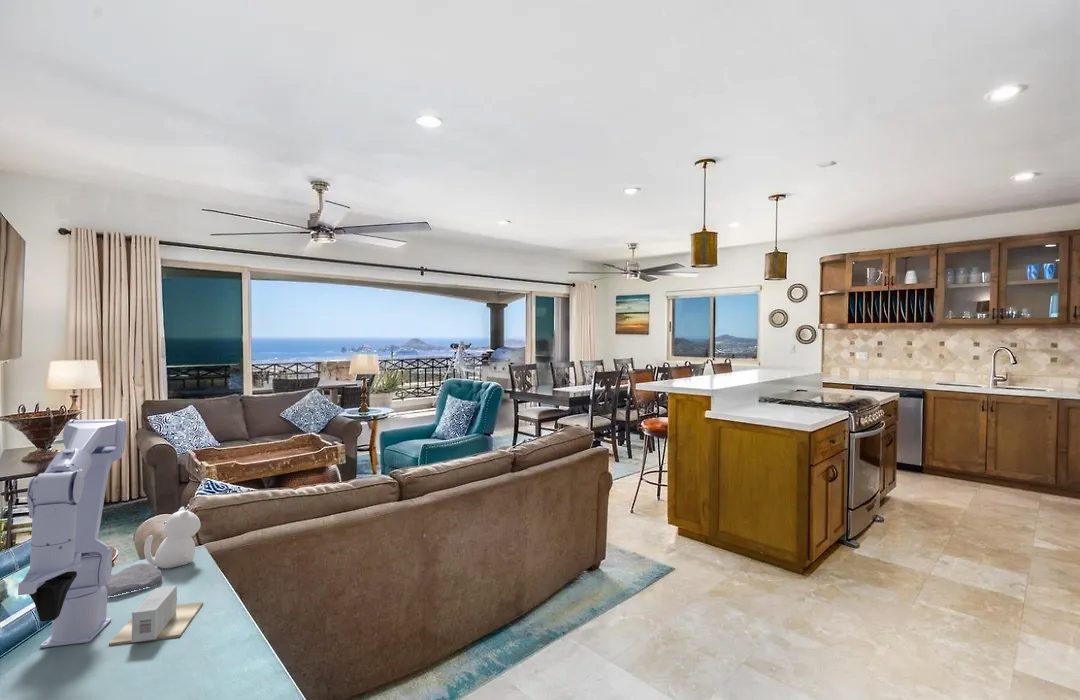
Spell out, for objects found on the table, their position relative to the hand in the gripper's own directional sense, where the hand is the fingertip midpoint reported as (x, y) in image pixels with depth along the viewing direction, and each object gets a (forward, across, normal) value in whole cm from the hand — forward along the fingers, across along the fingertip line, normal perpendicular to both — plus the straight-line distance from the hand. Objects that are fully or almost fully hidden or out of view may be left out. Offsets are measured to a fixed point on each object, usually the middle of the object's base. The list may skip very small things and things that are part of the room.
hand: (49, 619), depth 91 cm
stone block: (+11, +40, +2) cm, 41 cm away
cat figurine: (+11, +53, -2) cm, 54 cm away
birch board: (+10, +18, -11) cm, 23 cm away
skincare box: (+7, +9, -11) cm, 16 cm away
